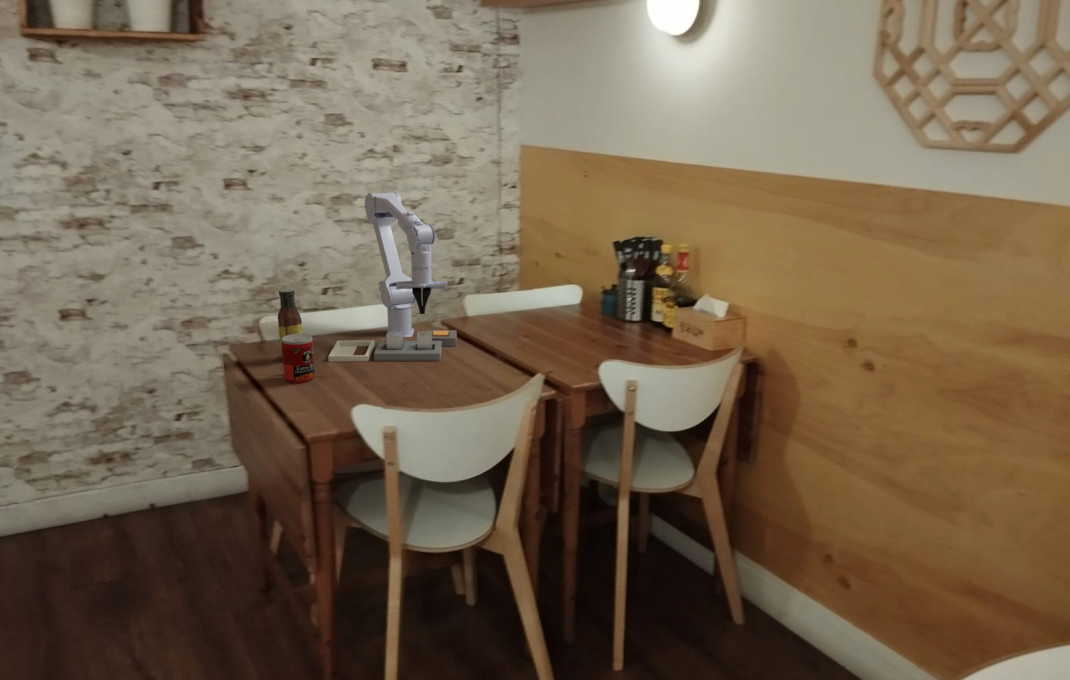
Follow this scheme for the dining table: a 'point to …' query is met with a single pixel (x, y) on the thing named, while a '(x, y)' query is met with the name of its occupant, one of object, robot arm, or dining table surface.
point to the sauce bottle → (288, 315)
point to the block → (424, 340)
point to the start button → (441, 334)
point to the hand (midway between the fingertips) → (422, 313)
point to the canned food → (298, 358)
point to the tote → (349, 351)
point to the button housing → (446, 338)
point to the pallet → (408, 352)
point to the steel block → (394, 340)
